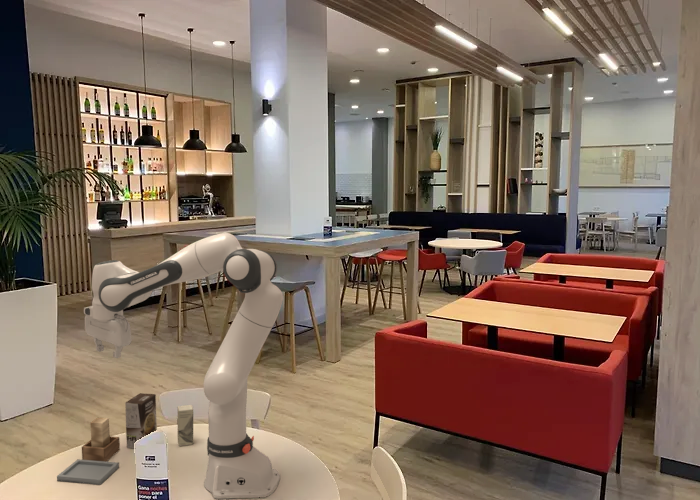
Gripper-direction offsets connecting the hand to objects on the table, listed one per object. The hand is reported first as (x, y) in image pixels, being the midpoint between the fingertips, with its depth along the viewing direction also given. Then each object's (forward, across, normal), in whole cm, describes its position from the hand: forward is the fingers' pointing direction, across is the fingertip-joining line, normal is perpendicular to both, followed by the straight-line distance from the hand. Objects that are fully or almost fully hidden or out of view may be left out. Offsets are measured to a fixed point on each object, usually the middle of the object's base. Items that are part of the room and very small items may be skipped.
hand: (108, 354), depth 169 cm
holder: (+36, +5, 0) cm, 36 cm away
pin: (+36, +5, 0) cm, 36 cm away
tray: (+36, -3, +8) cm, 37 cm away
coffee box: (+36, +2, -13) cm, 38 cm away
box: (+35, -10, -22) cm, 43 cm away
